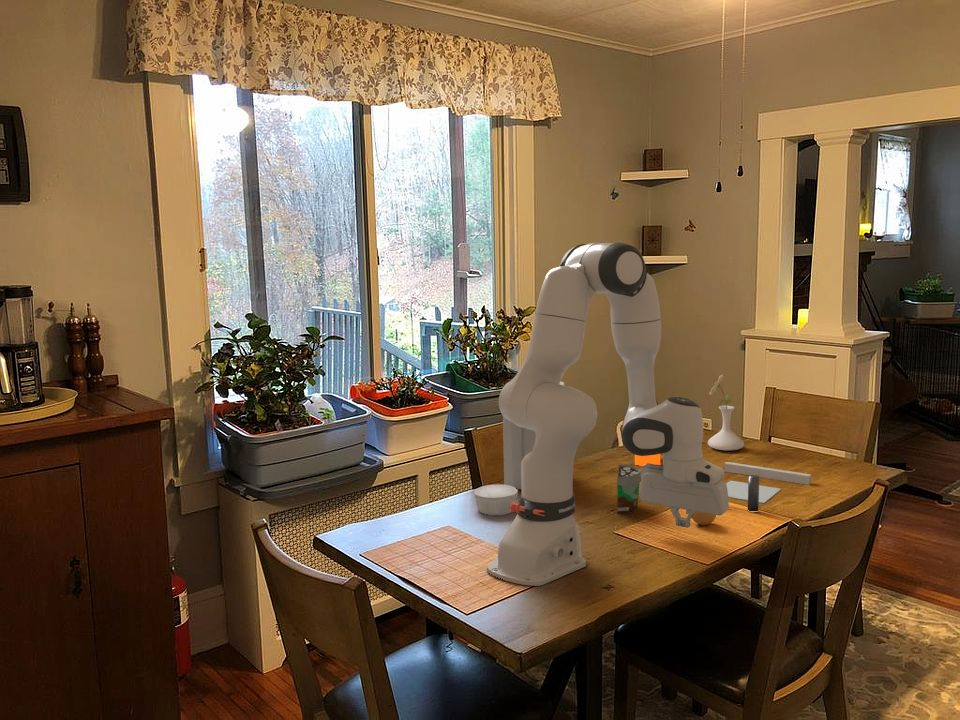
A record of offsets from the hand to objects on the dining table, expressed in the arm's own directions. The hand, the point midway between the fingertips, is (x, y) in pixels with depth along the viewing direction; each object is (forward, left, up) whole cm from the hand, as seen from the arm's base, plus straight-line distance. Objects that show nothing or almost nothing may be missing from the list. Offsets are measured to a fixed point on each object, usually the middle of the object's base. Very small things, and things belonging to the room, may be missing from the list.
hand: (682, 526), depth 186 cm
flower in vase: (+80, +21, -3) cm, 83 cm away
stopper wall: (+57, 0, -3) cm, 57 cm away
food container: (+12, +20, -3) cm, 23 cm away
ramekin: (-8, +48, -3) cm, 48 cm away
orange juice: (+53, +35, -3) cm, 63 cm away
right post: (+27, -7, -3) cm, 28 cm away
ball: (+11, 0, 0) cm, 11 cm away
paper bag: (+17, +49, -3) cm, 52 cm away
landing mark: (+41, 0, -3) cm, 41 cm away
